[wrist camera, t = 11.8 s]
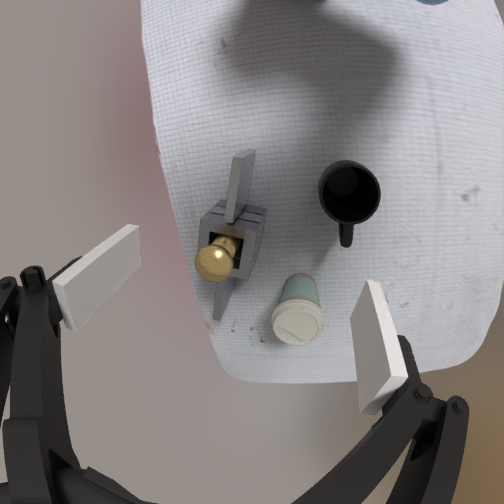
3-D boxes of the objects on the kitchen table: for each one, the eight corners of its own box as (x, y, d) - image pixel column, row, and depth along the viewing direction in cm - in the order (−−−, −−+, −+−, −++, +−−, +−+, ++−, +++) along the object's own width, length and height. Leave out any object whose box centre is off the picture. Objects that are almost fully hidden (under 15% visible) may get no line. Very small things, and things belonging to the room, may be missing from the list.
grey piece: (228, 145, 43) (207, 152, 34) (277, 154, 42) (269, 163, 33) (216, 241, 51) (196, 267, 42) (258, 250, 50) (247, 280, 41)
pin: (228, 208, 48) (196, 244, 34) (255, 214, 47) (233, 253, 34) (225, 233, 50) (194, 276, 36) (251, 239, 49) (228, 285, 36)
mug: (314, 224, 46) (315, 249, 38) (317, 153, 41) (320, 161, 32) (361, 228, 45) (372, 253, 36) (368, 157, 39) (384, 167, 31)
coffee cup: (271, 274, 52) (260, 314, 41) (315, 260, 49) (315, 300, 38) (287, 309, 55) (281, 352, 44) (328, 298, 52) (331, 341, 41)
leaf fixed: (220, 199, 47) (200, 219, 38) (266, 209, 46) (256, 231, 38) (211, 283, 55) (194, 313, 46) (250, 292, 55) (239, 326, 46)
